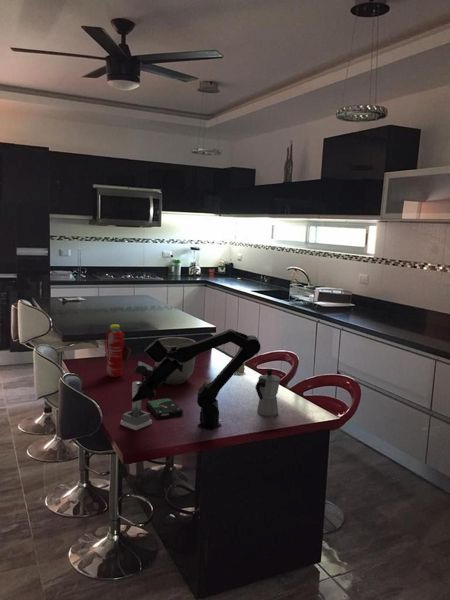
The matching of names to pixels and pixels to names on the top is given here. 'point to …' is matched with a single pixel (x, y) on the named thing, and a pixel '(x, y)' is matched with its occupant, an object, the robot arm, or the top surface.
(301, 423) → the top surface
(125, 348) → the water bottle
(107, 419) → the top surface
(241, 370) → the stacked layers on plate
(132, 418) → the square open box
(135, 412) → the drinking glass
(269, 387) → the coffee maker
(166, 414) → the disk drive
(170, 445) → the top surface
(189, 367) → the planter
